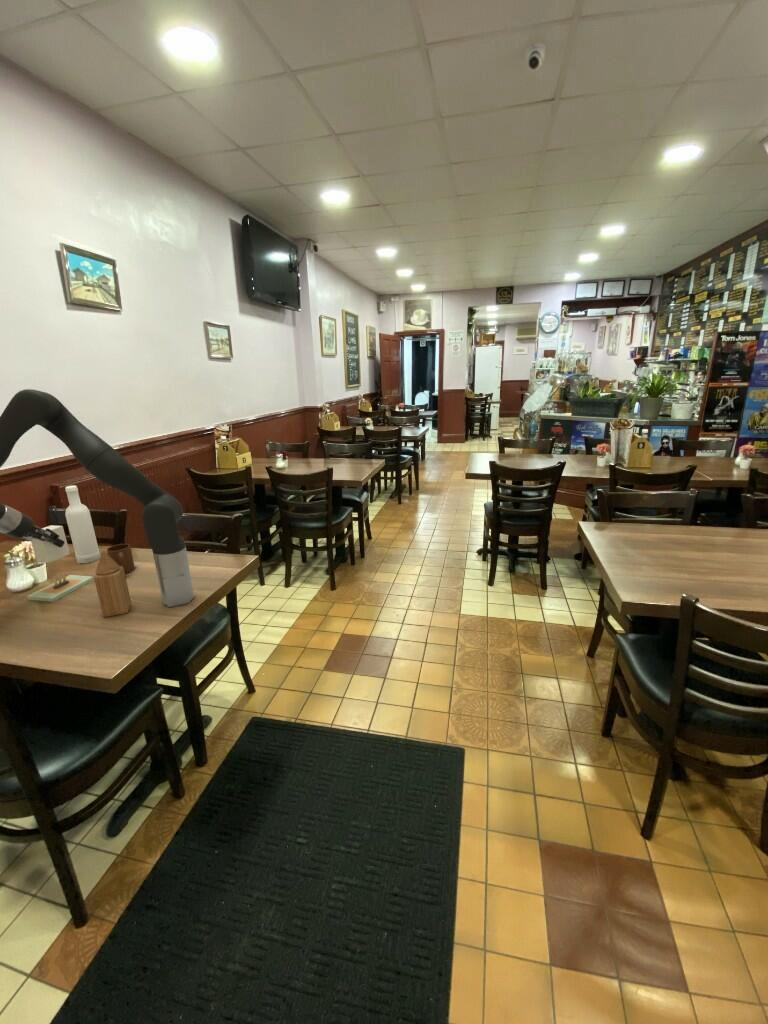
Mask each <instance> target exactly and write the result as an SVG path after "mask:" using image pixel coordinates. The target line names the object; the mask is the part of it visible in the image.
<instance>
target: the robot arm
mask: <svg viewBox="0 0 768 1024" xmlns="http://www.w3.org/2000/svg"><path fill="white" fill-rule="evenodd" d="M36 425H37V426H41V427H42V428H44V430H47V431H48V432H49V433H51V434H52V435H53V436H55V437H56V438H57V439H59V440H60V441H61V442H62V443H63V444H65V446H66V447H67V448H68V450H69V451H70V453H71V454H72V455H73V457H74V458H75V459H76V461H77V462H78V464H80V465H81V466H82V467H83V468H84V469H85V470H86V471H87V472H88V473H89V474H91V475H92V476H93V477H94V478H96V479H97V480H98V481H100V482H101V483H103V484H104V485H107V486H108V487H110V488H112V489H116V490H118V491H120V492H123V493H125V494H128V495H129V496H131V497H132V498H134V499H136V500H137V501H138V502H139V503H141V504H142V505H143V506H144V508H143V510H142V514H141V519H142V524H143V528H144V529H143V530H144V533H145V536H146V540H147V544H148V545H149V547H150V548H151V551H152V556H153V561H154V566H155V572H156V575H157V581H158V586H159V590H160V596H161V600H162V604H163V605H164V606H167V608H171V607H177V606H181V605H185V604H190V602H191V601H192V600H193V599H194V598H195V592H194V587H193V581H192V575H191V569H190V564H189V558H188V553H187V552H188V551H187V547H186V542H185V538H184V537H183V536H181V535H180V533H179V529H178V524H177V523H179V521H180V520H181V519H182V518H183V516H184V509H183V506H182V504H181V502H179V500H178V499H177V498H175V497H174V496H173V495H171V493H169V492H167V491H166V490H164V489H163V488H161V486H158V485H157V484H156V483H154V482H153V481H152V480H150V479H149V478H148V477H147V476H145V474H143V472H141V471H140V470H139V469H138V468H137V467H135V466H134V465H133V464H132V463H130V461H129V460H127V459H126V458H125V457H124V456H123V455H121V454H120V452H118V451H117V450H116V449H115V448H114V447H113V446H111V445H110V444H109V443H107V442H106V441H105V440H104V439H102V438H101V437H99V436H98V435H97V434H96V433H94V432H93V431H92V430H90V429H89V428H87V427H86V426H85V425H84V424H83V423H82V422H80V421H79V419H77V417H75V415H74V414H72V412H71V411H69V409H68V407H66V406H65V405H64V404H63V403H62V402H61V401H60V400H59V399H58V398H57V397H55V396H54V395H52V394H51V393H48V392H45V391H41V390H37V389H32V388H26V389H21V390H20V391H18V392H17V393H15V394H14V396H12V398H11V399H10V400H9V402H8V404H6V407H5V408H4V410H3V411H2V413H1V414H0V468H2V466H3V465H4V464H5V463H6V461H7V460H8V459H9V456H11V453H12V451H13V448H14V447H15V446H16V443H18V441H19V440H20V438H22V437H23V435H24V434H25V433H27V432H28V431H29V430H31V429H32V428H33V427H35V426H36ZM0 533H1V534H2V535H6V536H8V537H10V538H13V539H16V540H17V539H22V540H26V541H28V542H31V541H32V539H37V540H39V541H47V542H49V543H52V544H54V545H56V546H58V547H63V545H64V541H63V540H61V539H59V535H58V534H56V533H55V532H53V531H52V530H50V529H46V530H44V529H42V527H41V526H38V525H34V520H33V518H32V517H31V516H29V515H27V514H25V513H23V512H21V511H19V510H17V509H15V508H13V507H11V506H9V505H5V504H4V503H1V502H0ZM42 536H43V537H44V538H43V539H41V537H42Z"/></svg>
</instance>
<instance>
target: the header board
mask: <svg viewBox="0 0 768 1024" xmlns="http://www.w3.org/2000/svg"><path fill="white" fill-rule="evenodd" d="M94 577H95V576H89V575H77V574H76V575H75V574H69V575H67V576H66V574H65V573H61V575H60V574H58V575H57V576H56V577H53V578H52V579H53V582H52V583H51V584H49V585H46V586H44V587H43V588H42V587H41V588H40V589H39V590H37V591H35V592H33V593H30V594H28V595H26V597H27V598H26V599H27V600H29V601H30V600H31V601H39V602H40V601H41V602H49V603H50V602H51V603H54V602H56V601H58V600H59V599H60V598H62V597H65V596H66V595H69V594H70V593H72V592H74V591H76V590H78V589H80V588H82V587H84V586H85V584H86V585H88V584H89V583H91V582H92V580H93V581H94ZM90 581H91V582H90ZM83 585H84V586H83ZM81 586H82V587H81Z"/></svg>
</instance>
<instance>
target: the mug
mask: <svg viewBox="0 0 768 1024" xmlns="http://www.w3.org/2000/svg"><path fill="white" fill-rule="evenodd" d="M106 553H107V554H108V555H109V556H110V557H111V558H112V559H113V560H114V561H115V562H116V563H117V564H118V565H119V566H123V568H124V572H125V573H126V574H128V573H127V572H129V573H131V572H133V571H134V570H135V567H136V566H135V561H134V556H133V552H132V549H131V545H130V544H128V543H119V544H114V545H111V546H109V547H108V548H106ZM133 569H134V570H133ZM132 570H133V571H132ZM130 571H131V572H130Z"/></svg>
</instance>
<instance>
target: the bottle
mask: <svg viewBox="0 0 768 1024" xmlns="http://www.w3.org/2000/svg"><path fill="white" fill-rule="evenodd" d="M64 489H65V493H66V495H67V496H66V497H67V500H68V504H69V505H68V507H66V509H65V514H64V515H65V519H66V523H67V527H68V531H69V535H70V537H71V542H72V545H73V546H72V547H73V550H74V553H75V554H74V555H75V559H76V561H77V563H78V564H80V563H82V564H83V563H86V564H90V563H89V562H91V563H94V562H93V561H95V562H96V560H97V561H98V559H99V560H100V558H101V552H100V550H99V546H98V541H97V537H96V534H95V528H94V524H93V520H92V516H91V512H90V509H89V508H88V506H87V505H85V504H83V503H82V502H81V498H80V494H79V488H78V485H67V486H66V487H65V488H64ZM83 565H84V564H83Z"/></svg>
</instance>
